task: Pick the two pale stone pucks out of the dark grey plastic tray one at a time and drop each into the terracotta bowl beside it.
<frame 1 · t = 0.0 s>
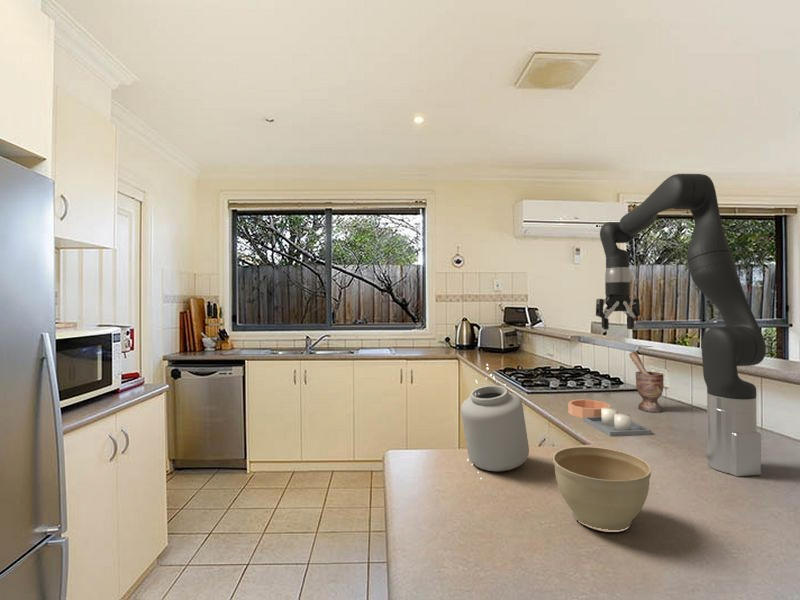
hand: (617, 329, 146), 29 cm above the countertop, tool pointing down, fingers open, 8 cm apart
bowl: (589, 415, 147), on the countertop
tray: (615, 429, 131), on the countertop
jar: (492, 466, 105), on the countertop
stone near: (622, 430, 128), point 1 cm above the countertop, touching tray
stone far: (609, 423, 135), point 1 cm above the countertop, touching tray
mortar and pestle: (645, 409, 155), on the countertop
planter bowl: (600, 521, 79), on the countertop
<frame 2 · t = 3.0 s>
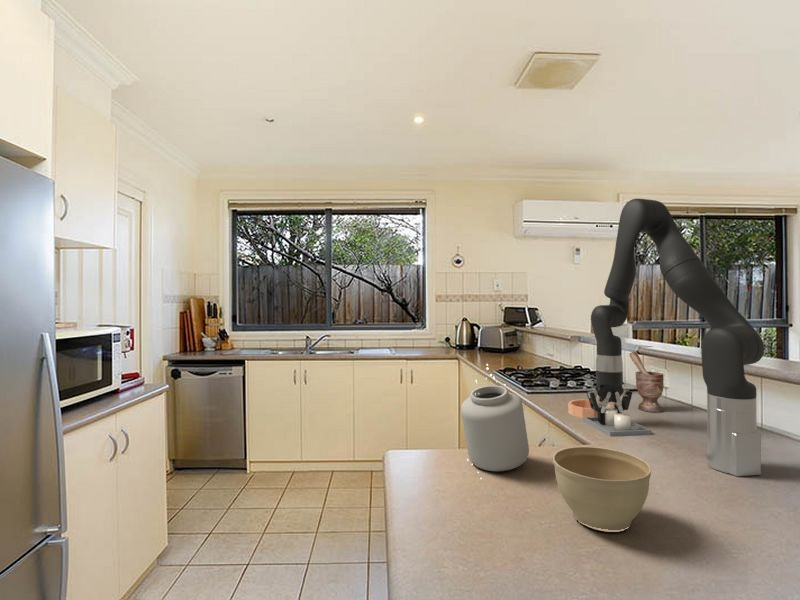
hand: (609, 423, 135), 1 cm above the countertop, tool pointing down, fingers closed on stone far, tray, 4 cm apart
stone far: (609, 423, 135), point 1 cm above the countertop, touching gripper
everything else where it was.
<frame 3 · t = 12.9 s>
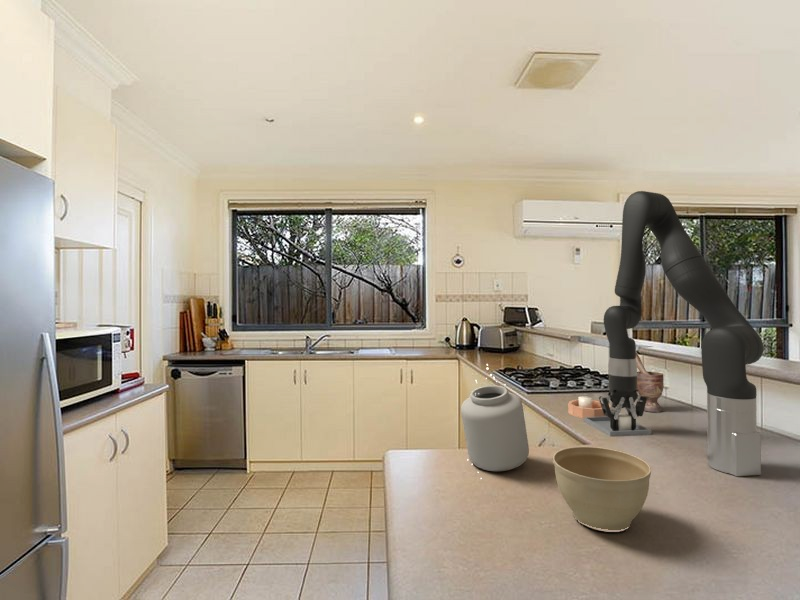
hand: (623, 430, 128), 1 cm above the countertop, tool pointing down, fingers closed on stone near, 4 cm apart
stone near: (623, 430, 128), point 1 cm above the countertop, touching gripper, tray
stone far: (585, 410, 149), point 1 cm above the countertop, touching bowl
everything else where it was.
when the fingers open (4 cm above the countertop, at t = 18.2 s): stone near drops 3 cm, resting on bowl.
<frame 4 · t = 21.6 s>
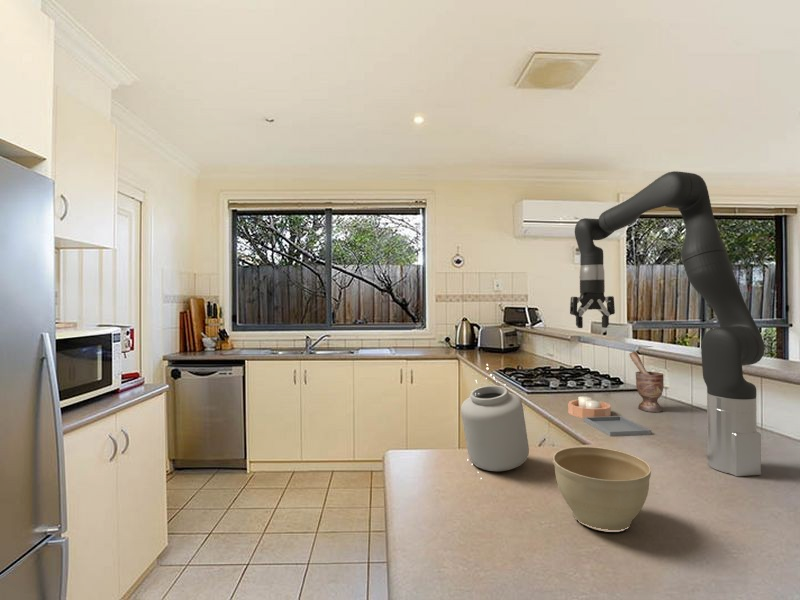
hand: (592, 327, 144), 30 cm above the countertop, tool pointing down, fingers open, 8 cm apart
stone near: (593, 415, 144), point 1 cm above the countertop, touching bowl
everything else where it was.
at the end: stone far inside the target area on the bowl (2.6 cm from its centre), point 1.0 cm above the bowl's base; stone near inside the target area on the bowl (2.6 cm from its centre), point 1.0 cm above the bowl's base; the gripper is holding nothing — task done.
